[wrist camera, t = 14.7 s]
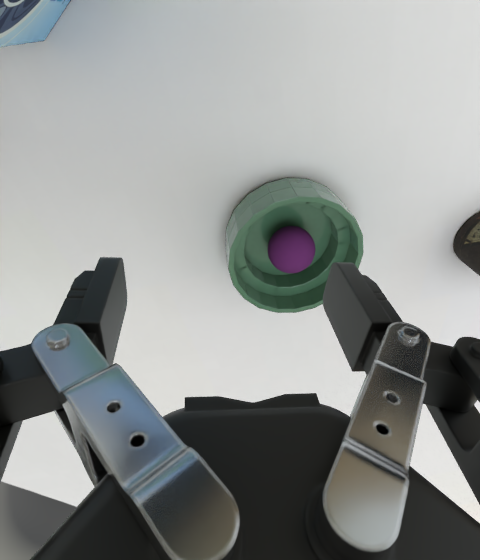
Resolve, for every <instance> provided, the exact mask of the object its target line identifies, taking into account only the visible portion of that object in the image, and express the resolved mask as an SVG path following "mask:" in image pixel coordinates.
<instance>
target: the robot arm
mask: <svg viewBox="0 0 480 560" xmlns="http://www.w3.org/2000/svg"><path fill="white" fill-rule="evenodd" d="M126 306H127V289H126V281H125V272H124V264H123V259H122V258H108V257H101V258H100V259H99V261H98V264H97V266H96V268H95V271H84V272H83V273H82V274H80V275H79V276H78V277H77V278H75V280H74V282H73V284H72V286H71V288H70V290H69V293H68V295H67V298H66V299H65V301H64V303H63V305H62V307H61V310H60V312H59V314H58V316H57V318H56V320H55V322H54V324H53V326H50V327H47V328H45V329H44V330H42V331H40V332H39V333H38V334H37V335H36V336H35V337H34V339H33V341H32V343H31V344H29V345H26V346H22V347H18V348H13V349H9V350H4V351H0V482H1V479H2V476H3V474H4V471H5V468H6V465H7V462H8V460H9V457H10V454H11V451H12V449H13V446H14V443H15V440H16V438H17V435H18V432H19V429H20V427H21V424H22V421H23V420H25V419H29V418H32V417H35V416H39V415H42V414H45V413H49V412H52V411H54V412H55V414H56V416H57V417H58V419H59V421H60V423H61V424H62V426H63V428H64V430H65V431H66V433H67V435H68V437H69V438H70V440H71V442H72V444H73V445H74V447H75V449H76V450H77V452H78V454H79V456H80V458H81V460H82V463H83V465H84V467H85V470H86V472H87V474H88V476H89V478H90V479H91V481H92V483H93V485H94V487H95V488H94V489H93V490H92V491H91V492H90V493H89V494H88V495H87V497H86V498H85V499H84V500H83V501H82V502H81V503H80V504H79V505H78V507H77V508H76V509H75V510H74V511H73V512H72V513H71V514H70V515H69V517H68V518H67V519H66V520H65V521H64V522H63V523H62V525H61V526H60V527H59V528H58V529H57V530H56V531H55V532H54V533H53V535H52V536H51V537H50V538H49V539H48V540H47V541H46V542H45V543H44V544H43V546H42V547H41V548H40V549H39V550H38V551H37V552H36V553H35V554H34V556H33V557H32V558H31V559H30V560H480V524H479V523H478V522H477V521H476V520H475V519H473V518H472V517H471V516H470V515H469V514H467V513H466V512H465V511H464V510H463V509H461V508H460V507H459V506H458V505H456V504H455V503H454V502H453V501H452V500H450V499H449V498H448V497H447V496H446V495H444V494H443V493H442V492H441V491H440V490H438V489H437V488H436V487H435V486H433V485H432V484H431V483H430V482H429V481H427V480H426V479H425V478H424V477H423V476H421V475H420V474H419V473H418V472H417V471H415V470H414V469H413V468H412V467H411V466H410V461H411V456H412V451H413V447H414V442H415V437H416V433H417V428H418V423H419V419H420V414H421V409H422V404H426V406H427V408H428V410H429V411H430V413H431V415H432V417H433V419H434V421H435V422H436V424H437V426H438V428H439V430H440V432H441V434H442V435H443V437H444V439H445V441H446V443H447V445H448V447H449V448H450V450H451V452H452V454H453V456H454V458H455V460H456V461H457V463H458V465H459V467H460V469H461V471H462V473H463V474H464V476H465V478H466V480H467V482H468V484H469V486H470V487H471V489H472V491H473V493H474V495H475V497H476V498H477V500H478V502H479V504H480V413H479V412H478V410H477V409H476V407H475V406H474V404H475V402H476V401H477V400H478V401H479V402H480V339H477V338H473V337H462V338H459V339H458V340H457V342H456V344H455V345H454V347H452V346H447V345H443V344H438V343H434V342H431V341H430V339H429V337H428V335H427V334H426V333H425V332H424V331H422V330H421V329H420V328H418V327H416V326H414V325H412V324H409V323H404V322H403V321H402V320H401V318H400V317H399V315H398V314H397V313H396V311H395V310H394V308H393V307H392V305H391V304H390V303H389V301H388V300H387V298H386V297H385V295H384V294H383V293H382V291H381V290H380V288H379V287H378V285H377V284H376V283H375V282H374V281H373V280H371V279H370V278H369V277H367V276H366V275H361V273H360V272H359V270H358V269H357V267H356V266H355V264H354V263H342V262H334V263H333V264H332V266H331V268H330V272H329V275H328V279H327V283H326V286H325V290H324V294H323V306H324V309H325V312H326V314H327V316H328V318H329V321H330V323H331V325H332V327H333V329H334V332H335V334H336V336H337V338H338V340H339V343H340V345H341V347H342V349H343V351H344V354H345V356H346V358H347V360H348V363H349V365H350V367H351V369H352V371H365V372H366V375H367V376H366V378H365V380H364V383H363V385H362V387H361V390H360V392H359V395H358V397H357V400H356V402H355V405H354V407H353V410H352V412H351V414H350V417H349V416H348V415H346V414H344V413H343V412H341V411H339V410H337V409H334V408H332V407H329V406H326V405H323V404H320V403H319V400H318V397H317V394H316V393H311V394H284V395H281V396H277V397H274V398H270V399H266V400H263V401H259V402H255V403H251V402H245V401H240V400H235V399H229V398H224V397H219V396H215V397H185V408H182V409H179V410H176V411H174V412H171V413H169V414H167V415H165V416H164V417H162V416H161V415H160V414H159V413H158V411H157V410H156V409H155V408H154V406H153V405H152V404H151V403H150V402H149V400H148V399H147V398H146V397H145V395H144V394H143V393H142V392H141V390H140V389H139V388H138V387H137V386H136V384H135V383H134V382H133V381H132V379H131V378H130V377H129V376H128V375H127V373H126V372H125V371H124V370H123V368H122V367H121V366H120V365H118V364H117V363H115V364H113V360H114V356H115V352H116V348H117V344H118V339H119V335H120V331H121V327H122V323H123V319H124V315H125V311H126ZM112 364H113V365H112Z"/></svg>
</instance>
